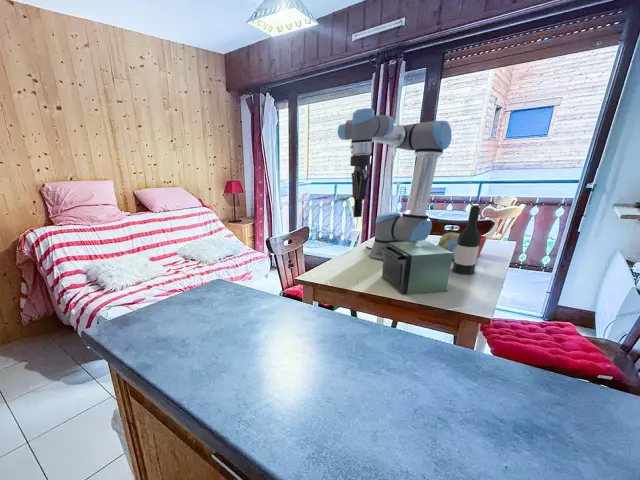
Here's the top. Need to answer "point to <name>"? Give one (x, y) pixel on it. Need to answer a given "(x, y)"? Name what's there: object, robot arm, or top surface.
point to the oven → (426, 266)
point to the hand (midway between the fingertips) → (357, 216)
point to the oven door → (396, 267)
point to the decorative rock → (449, 242)
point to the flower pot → (481, 244)
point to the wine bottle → (468, 244)
